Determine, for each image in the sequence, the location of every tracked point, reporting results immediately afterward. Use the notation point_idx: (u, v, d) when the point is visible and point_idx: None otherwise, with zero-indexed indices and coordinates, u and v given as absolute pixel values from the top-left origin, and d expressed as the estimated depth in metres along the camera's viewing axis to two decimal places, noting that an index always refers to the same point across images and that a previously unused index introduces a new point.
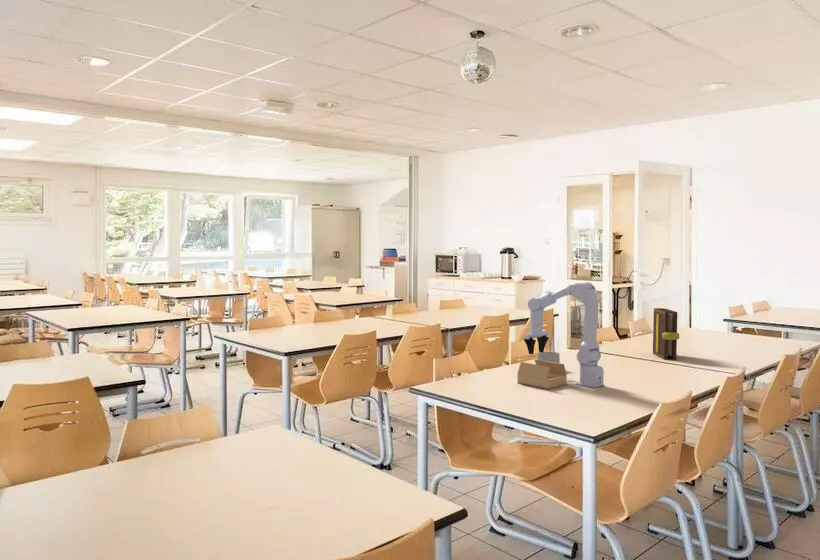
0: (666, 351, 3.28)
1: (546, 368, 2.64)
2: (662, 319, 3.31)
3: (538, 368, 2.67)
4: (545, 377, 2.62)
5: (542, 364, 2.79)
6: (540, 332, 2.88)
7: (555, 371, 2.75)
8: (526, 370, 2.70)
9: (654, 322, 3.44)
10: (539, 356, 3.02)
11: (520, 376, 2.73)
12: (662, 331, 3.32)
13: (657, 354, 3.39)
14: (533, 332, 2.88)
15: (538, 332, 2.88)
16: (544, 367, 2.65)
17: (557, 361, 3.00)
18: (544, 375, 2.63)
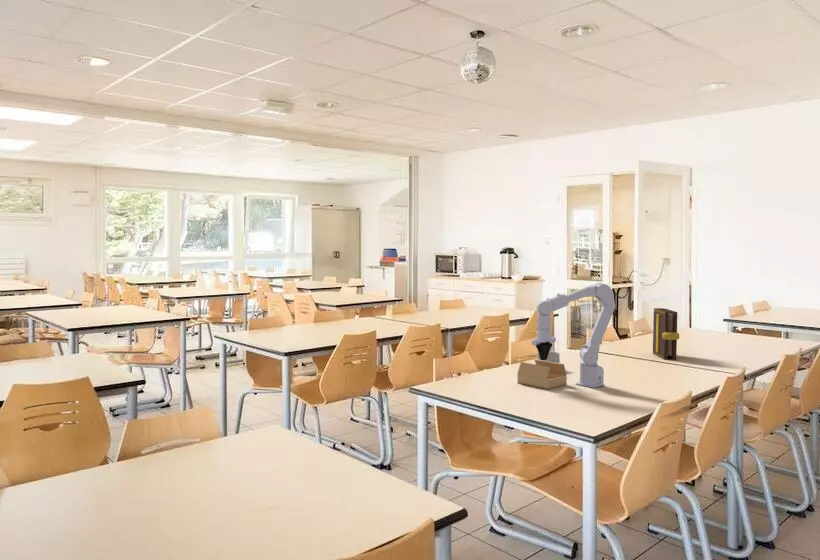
0: (666, 351, 3.28)
1: (546, 368, 2.64)
2: (662, 319, 3.31)
3: (538, 368, 2.67)
4: (545, 377, 2.62)
5: (542, 364, 2.79)
6: (548, 337, 2.70)
7: (555, 371, 2.75)
8: (526, 370, 2.70)
9: (654, 322, 3.44)
10: (539, 356, 3.02)
11: (520, 376, 2.73)
12: (662, 331, 3.32)
13: (657, 354, 3.39)
14: (541, 338, 2.70)
15: (546, 337, 2.69)
16: (544, 367, 2.65)
17: (557, 361, 3.00)
18: (544, 375, 2.63)
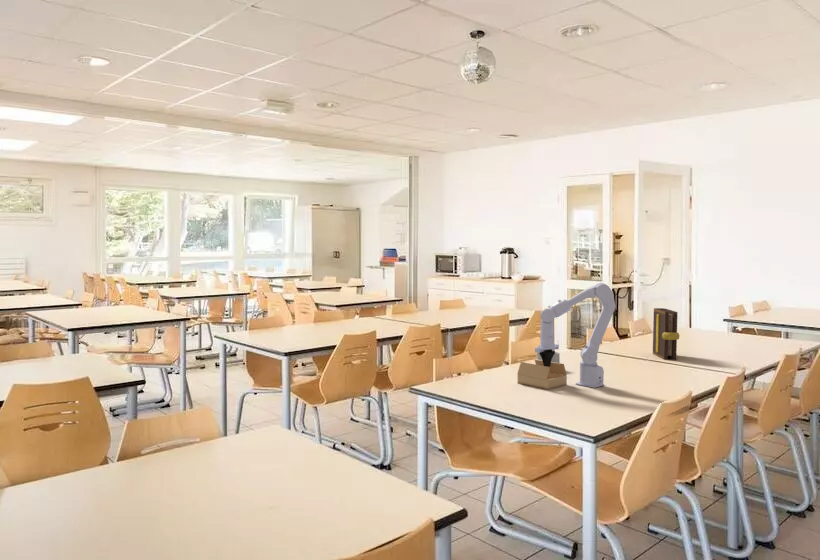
0: (666, 351, 3.28)
1: (546, 368, 2.64)
2: (662, 319, 3.31)
3: (538, 368, 2.67)
4: (545, 377, 2.62)
5: (542, 364, 2.79)
6: (551, 345, 2.71)
7: (555, 371, 2.75)
8: (526, 370, 2.70)
9: (654, 322, 3.44)
10: (539, 356, 3.02)
11: (520, 376, 2.73)
12: (662, 331, 3.32)
13: (657, 354, 3.39)
14: (544, 345, 2.71)
15: (549, 345, 2.71)
16: (544, 367, 2.65)
17: (557, 361, 3.00)
18: (544, 375, 2.63)
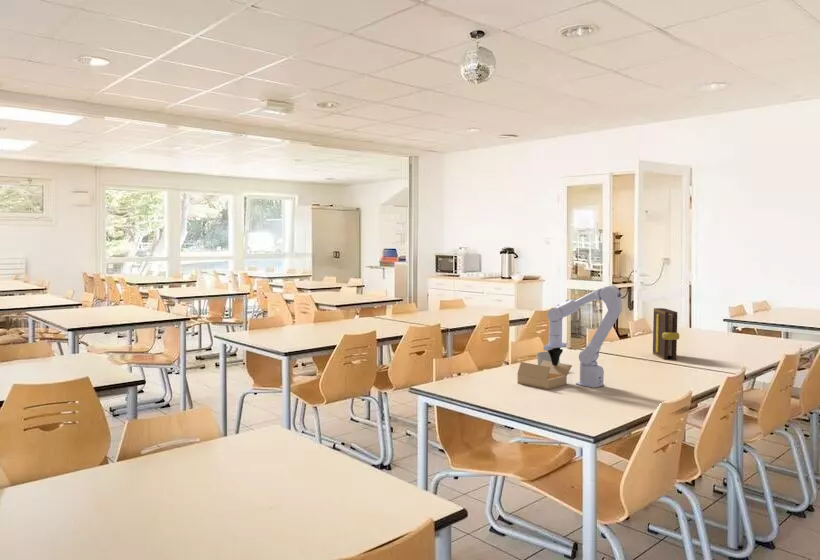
0: (666, 351, 3.28)
1: (546, 368, 2.64)
2: (662, 319, 3.31)
3: (538, 368, 2.67)
4: (545, 377, 2.62)
5: (547, 364, 2.81)
6: (559, 343, 2.75)
7: (557, 371, 2.76)
8: (526, 370, 2.70)
9: (654, 322, 3.43)
10: (539, 356, 3.02)
11: (520, 376, 2.73)
12: (662, 331, 3.32)
13: (657, 354, 3.39)
14: (552, 343, 2.75)
15: (557, 343, 2.75)
16: (544, 367, 2.65)
17: None
18: (544, 375, 2.63)
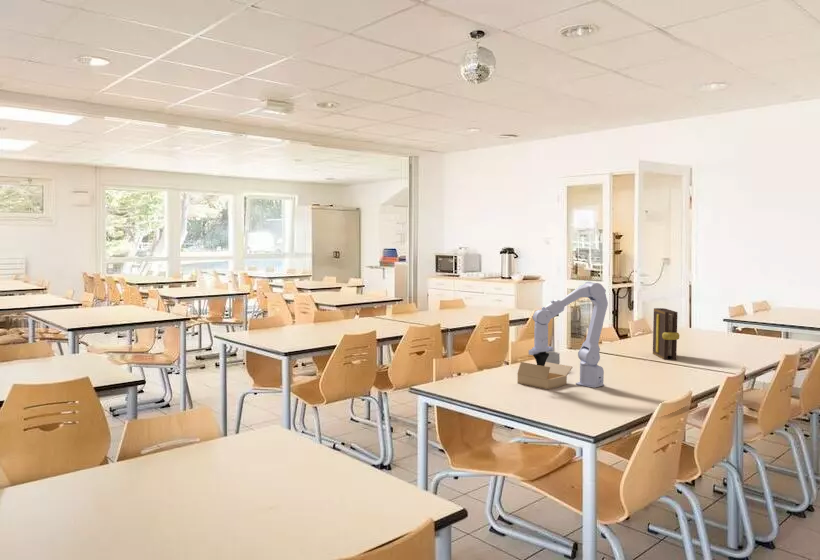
0: (666, 351, 3.28)
1: (546, 368, 2.64)
2: (662, 319, 3.31)
3: (538, 368, 2.67)
4: (545, 377, 2.62)
5: (548, 365, 2.81)
6: (545, 347, 2.65)
7: (557, 371, 2.76)
8: (526, 370, 2.70)
9: (654, 322, 3.44)
10: None
11: (520, 376, 2.73)
12: (662, 331, 3.32)
13: (657, 354, 3.39)
14: (538, 347, 2.65)
15: (543, 347, 2.65)
16: (544, 367, 2.65)
17: (557, 361, 3.00)
18: (544, 375, 2.63)
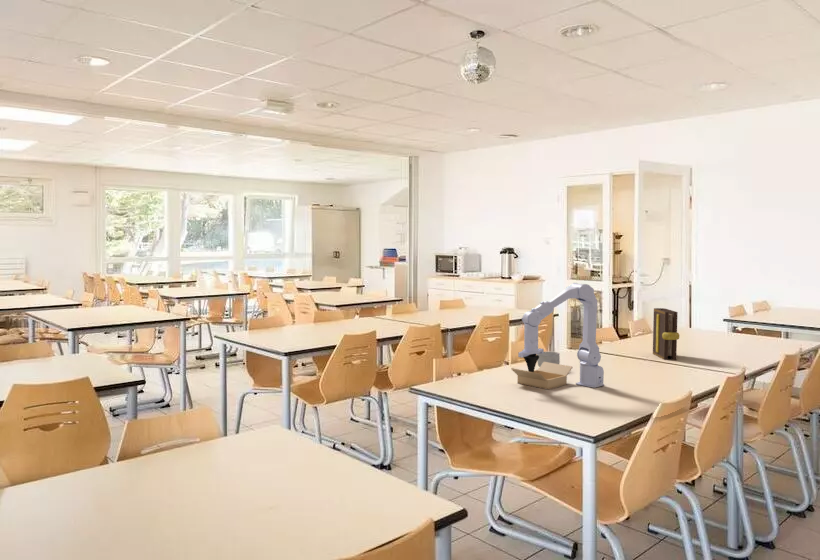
0: (666, 351, 3.28)
1: (537, 374, 2.60)
2: (662, 319, 3.31)
3: (531, 374, 2.64)
4: (544, 379, 2.62)
5: (548, 365, 2.82)
6: (535, 349, 2.61)
7: (557, 371, 2.76)
8: (522, 374, 2.69)
9: (654, 322, 3.43)
10: (539, 356, 3.02)
11: (520, 376, 2.73)
12: (662, 331, 3.32)
13: (657, 354, 3.39)
14: (528, 350, 2.61)
15: (533, 349, 2.60)
16: (535, 374, 2.61)
17: (557, 361, 3.00)
18: (542, 378, 2.62)
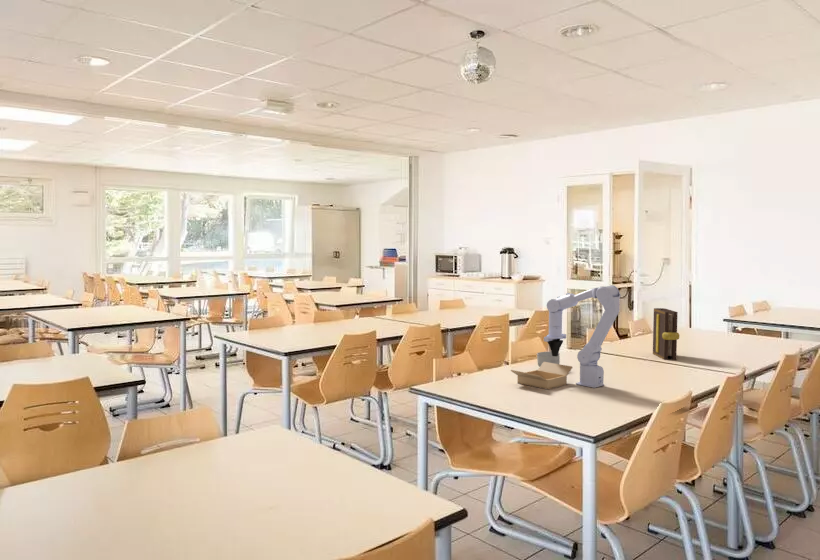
0: (666, 351, 3.28)
1: (537, 376, 2.60)
2: (662, 319, 3.31)
3: (530, 375, 2.63)
4: (544, 380, 2.62)
5: (548, 365, 2.82)
6: (559, 334, 2.79)
7: (557, 371, 2.76)
8: (522, 375, 2.69)
9: (654, 322, 3.44)
10: (539, 356, 3.02)
11: (520, 376, 2.73)
12: (662, 331, 3.32)
13: (657, 354, 3.39)
14: (552, 335, 2.79)
15: (557, 334, 2.78)
16: (535, 376, 2.61)
17: (557, 361, 3.00)
18: (542, 379, 2.62)
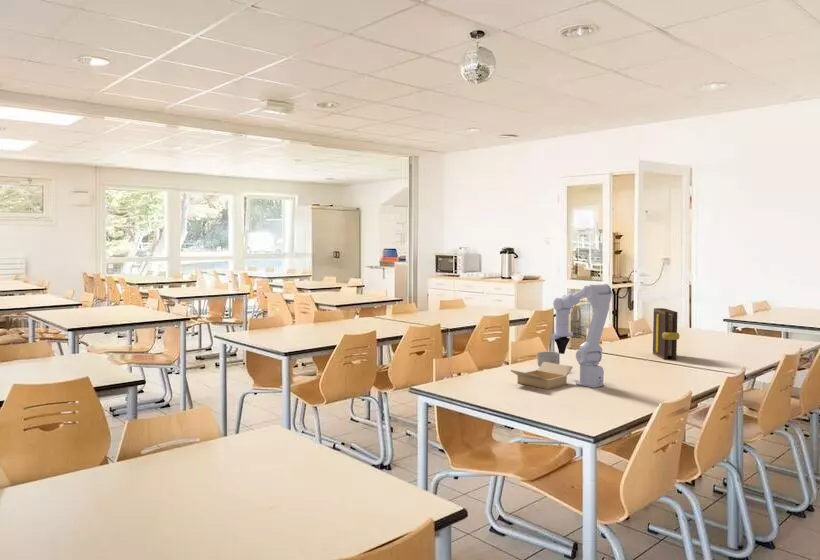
0: (666, 351, 3.28)
1: (537, 376, 2.60)
2: (662, 319, 3.31)
3: (530, 375, 2.63)
4: (544, 380, 2.62)
5: (548, 365, 2.82)
6: (566, 332, 2.85)
7: (557, 371, 2.76)
8: (522, 375, 2.69)
9: (654, 322, 3.44)
10: (539, 356, 3.02)
11: (520, 376, 2.73)
12: (662, 331, 3.32)
13: (657, 354, 3.39)
14: (559, 332, 2.85)
15: (564, 332, 2.85)
16: (535, 376, 2.61)
17: (557, 361, 3.00)
18: (542, 379, 2.62)
